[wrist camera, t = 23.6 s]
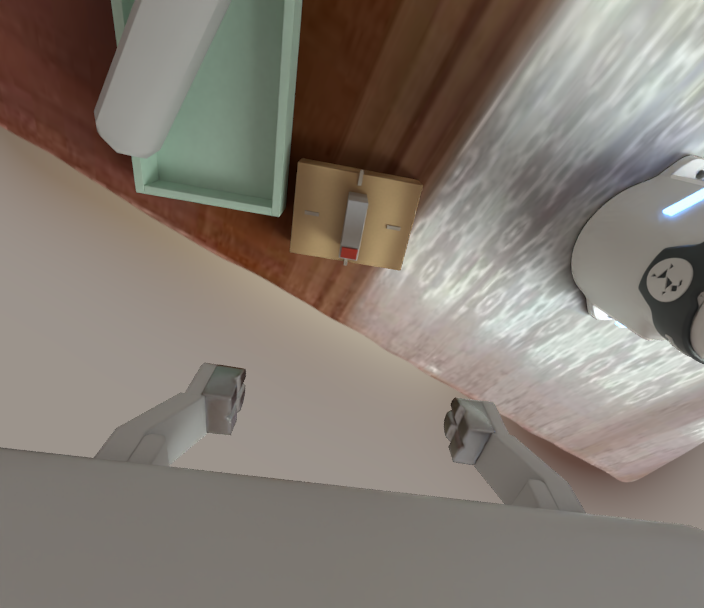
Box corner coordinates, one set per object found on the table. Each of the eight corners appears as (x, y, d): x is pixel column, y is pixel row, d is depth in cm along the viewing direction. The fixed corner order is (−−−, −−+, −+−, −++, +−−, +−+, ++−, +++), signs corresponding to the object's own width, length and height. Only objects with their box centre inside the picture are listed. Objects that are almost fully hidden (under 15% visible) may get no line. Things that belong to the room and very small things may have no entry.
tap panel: (419, 176, 35) (424, 181, 32) (396, 263, 40) (399, 274, 37) (302, 154, 34) (297, 157, 31) (293, 245, 39) (288, 255, 36)
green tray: (322, -243, 22) (316, -301, 19) (285, 208, 37) (279, 217, 34) (104, -305, 21) (60, -377, 18) (155, 185, 36) (135, 192, 32)
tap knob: (348, 191, 33) (348, 200, 29) (367, 194, 33) (368, 203, 30) (339, 245, 35) (338, 258, 32) (356, 247, 36) (357, 262, 32)
